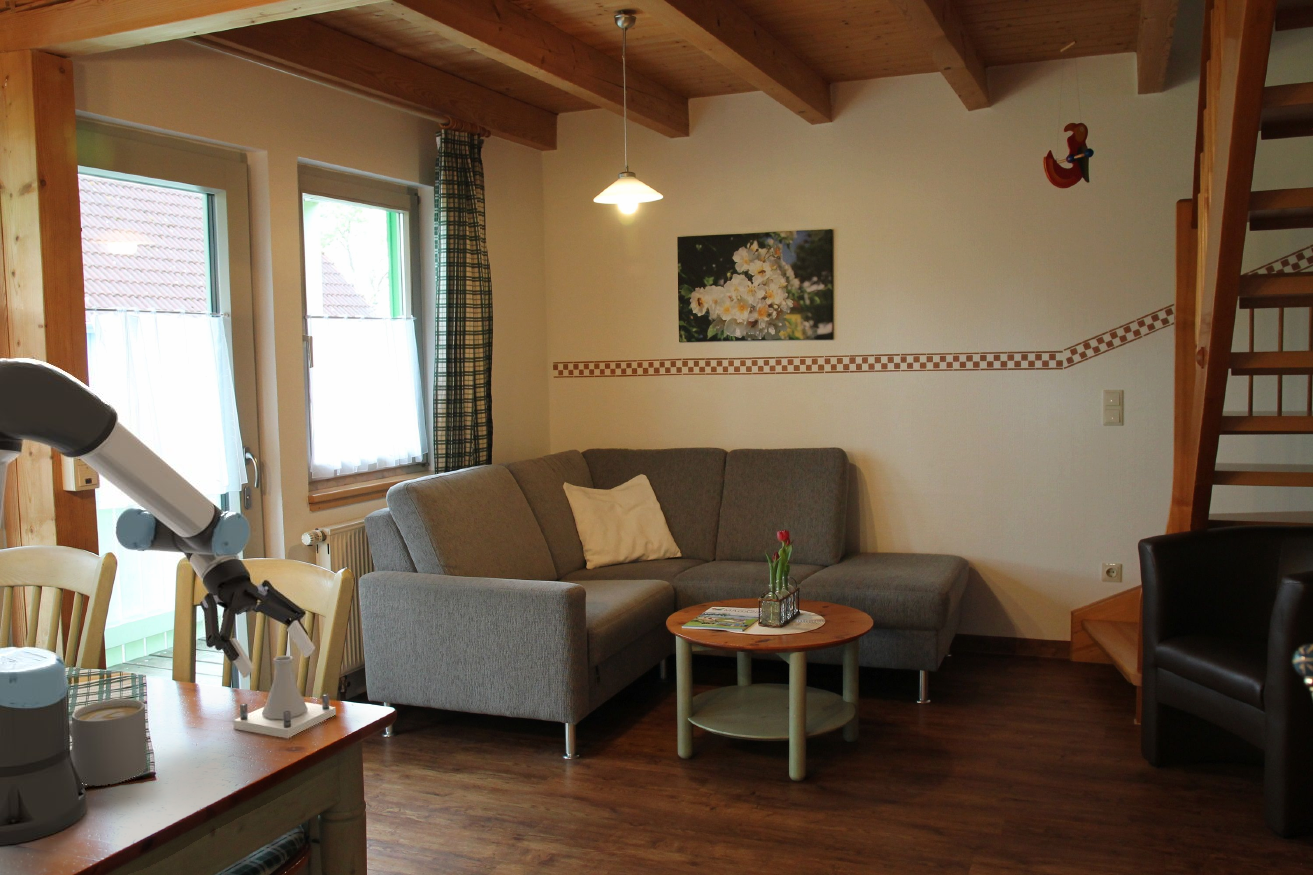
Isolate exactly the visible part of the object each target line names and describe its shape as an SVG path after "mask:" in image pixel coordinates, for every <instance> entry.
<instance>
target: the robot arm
mask: <svg viewBox="0 0 1313 875" xmlns="http://www.w3.org/2000/svg"><path fill="white" fill-rule="evenodd" d="M23 440H26V441H31V442H35V443H40V444H42V445H45V446H48V447H50V448H53V449H54V450H55V451H57V452H58V453H60V455H62V456H64V457H65V458H69V459H80V460H81V461H82V462H83V463H85V464H86V465H87V466H89V467H90V468H91V469H93V470H94V471H95V472H96V473H98V474H99V475H100V476H101V477H103V478H104V479H105V480H106V481H108V482H109V483H111V484H112V485H113V486H115V487H116V488H117V489H119V490H120V491H121V492H122V493H124V494H125V495H126V496H127V497H129V498H130V499H132V500H133V502H135V503H136V504H138V505H139V506H133V507H132V506H131V507H129V508H126V509H125V510H124V511H123V512H121V514H120V515H119V516H118V518H117V521H116V526H115V536H116V539H117V541H118V543H119V545H121V547H123V548H125V549H126V550H129V551H130V550H131V551H138V552H145V551H154V552H155V551H159V552H170V553H171V552H173V553H183V554H184V556H185V558H186V559H187V560H188V562H189V564H190V565H191V567H192V569H193V570H194V572H195V573H196V575H197V576H198V578H199V579H200V580H201V581H202V584H203V586H204V587H205V589H206V591H207V593H206V594H205V595H204V597H203V598H202V599H201V600H200V603H199V605H200V607H201V609H202V612H203V617H204V619H203V620H204V630H205V633H204V634H205V643H206V644H205V645H206V647H208V648H213V647H214V648H215V650H217V651H218V652H219V651H223V653H224V655H225V657H227V659H228V660H229V662H233V663H234V665H235V667H236V669H237V671H239V673H240V675H241V676H242V678H243V679H245V678H247V677H249V675H250V674H251V673H252V671H254V670H255V666H254V664H253V662H252V661H251V659H250V658H249V656H248V655H247V653H246V652H245V650H244V648H243V646H241V644H240V642H239V640H238V639H237V638H236V637H233V638H231V637H232V633H233V632H232V631H233V628H234V627H233V626H234V623H235V618H236V616H239V615H241V614H242V613H243V614H244V613H250V612H254V613H260V614H263V615H265V616H266V617H269V618H271V619H273V620H274V621H277V622H279V623H281V624H283V625H285V626H287V629H286V631H287V632H288V634H289V636H290V637H291V639H292V640H293V642H294V643H295V645H296V646H297V648H298V649H299V651H300V653H301V654H302V655H303V657H304V658H305V659H306V658H309V656H311V655H312V653H313V652H314V651H315V649H316V647H315V645H314V644H313V641H312V640H311V639H310V637H309V636H308V635H309V633H308V632H309V631H307V629H306V628H305V626H304V624H303V623H302V619H303V618H304V617H305V615H306V614H307V613H306V611H305V610H304V609H303V608H301V607H300V606H299V605H298V604H296V603H294V601H292V600H290V599H289V598H288V597H287V596H286V595H284V594H283V593H282V592H280V591H279V590H277V589H276V588H275V587H274V586H273V584H271V582H270V581H269V580H268V579H264V580H263V581H262V582H261V584H257V585H256V584H255V583H253V581H252V580H251V579H252V578H251V573H250V572H249V570H248V569H247V567H246V566H245V564H244V562H243V561H242V560H241V559H240V557H239V554H240V553H241V552H243V551H244V550H245V548H246V547H247V545H248V543H249V540H250V538H251V527H250V526H251V525H250V523H249V520H248V519H247V517H246V516H245V515H244V514H242V513H240V512H235V511H232V510H227V511H224V510H222V509H220V508H219V506H217V505H216V504H215V503H213V502H212V501H211V500H210V499H208V497H206V496H205V495H204V494H203V493H201V492H200V491H199V490H198V489H197V488H196V487H195V486H194V485H193V484H191V483H190V482H189V481H188V480H186V479H185V478H184V477H183V476H182V475H181V474H180V473H178V472H177V471H176V470H175V469H174V468H172V467H171V466H170V465H169V464H168V463H167V462H166V461H164V459H162V458H161V457H160V456H159V455H157V453H155V452H154V451H153V450H152V449H151V448H150V447H148V446H147V445H146V444H145V443H144V442H143V441H142V440H140V439H139V438H138V437H137V436H135V435H134V434H133V433H132V432H131V431H130V430H129V429H128V428H126V427H125V426H124V425H123V424H122V423H120V422H119V415H118V412H117V410H116V409H115V407H114V406H112V405H111V404H110V403H108V402H107V401H106V400H105V399H104V398H103V397H102V396H100V395H99V394H98V393H97V392H96V391H94V390H93V389H91V388H90V387H89V386H87V385H86V384H84V383H83V382H81V381H80V380H79V379H77V378H76V377H74V376H73V375H72V374H70V373H68V372H66V371H64V370H62V369H61V368H59V367H57V366H54V365H52V364H50V363H47V362H45V361H41V360H37V359H32V358H20V357H19V358H18V357H17V358H0V528H2V526H1V525H2V516H3V509H4V501H5V500H4V499H5V493H6V492H5V490H6V482H7V474H8V468H9V467H8V466H9V464H10V463H11V462H13V461H14V460H15V459H17V458H18V457H19V456H21V455H22V450H23V449H22V448H23ZM258 602H259V603H258ZM218 606H219V607H221V608H223V612H222V617H221V618H222V621H221V625H220V624H219V613H218ZM69 689H70V688H69V679H68V677H67V671H66V664H65V661H64V660H63V659H62V657H61V656H60V655H59V654H57V653H55V652H53V651H51V650H48V649H45V648H40V647H32V646H23V647H17V646H10V647H7V646H6V647H1V648H0V846H7V845H13V844H19V843H20V844H21V843H25V842H30V841H33V840H38V839H40V838H45V837H47V836H50V835H52V834H55V833H58V832H60V831H62V830H64V829H66V828H68V827H71V826H72V825H75V823H77V822H78V821H79V820H80V819H82V818H83V817H84V815H85V814H86V812H87V809H88V805H87V802H88V801H87V792H86V789H85V787H84V785H82V782H81V780H80V778H79V776H78V774H77V772H76V769H75V767H74V765H73V763H72V761H71V757H70V750H71V746H70V745H71V744H70V743H71V740H70V737H71V735H70V734H69V721H70V708H69V707H70V704H69V700H70V699H69Z"/></svg>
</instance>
